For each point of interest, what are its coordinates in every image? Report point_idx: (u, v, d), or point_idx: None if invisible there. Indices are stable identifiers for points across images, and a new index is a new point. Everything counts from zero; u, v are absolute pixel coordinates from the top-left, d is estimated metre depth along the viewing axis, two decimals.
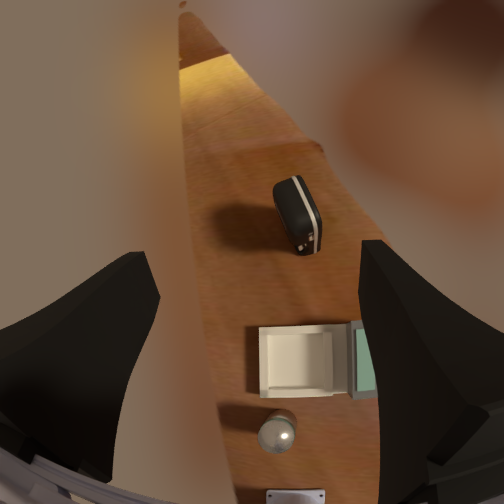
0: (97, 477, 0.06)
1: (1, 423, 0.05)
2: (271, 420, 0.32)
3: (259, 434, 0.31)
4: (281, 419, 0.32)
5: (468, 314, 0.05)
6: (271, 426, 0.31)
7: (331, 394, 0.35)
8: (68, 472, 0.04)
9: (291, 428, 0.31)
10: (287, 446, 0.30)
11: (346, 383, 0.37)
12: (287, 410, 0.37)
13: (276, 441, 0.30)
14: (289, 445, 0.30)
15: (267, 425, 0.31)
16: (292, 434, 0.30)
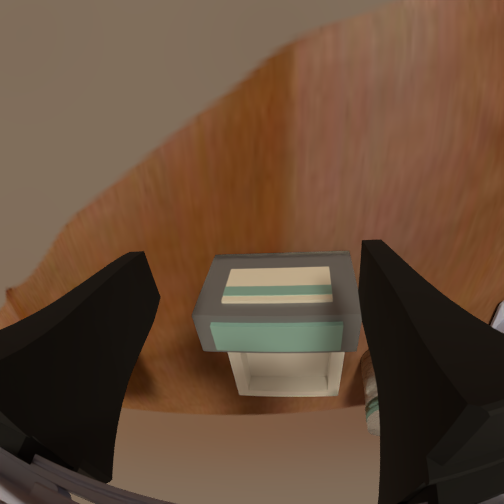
0: (97, 477, 0.06)
1: (1, 423, 0.05)
2: (366, 421, 0.21)
3: None
4: (368, 411, 0.21)
5: (468, 313, 0.05)
6: (374, 429, 0.20)
7: None
8: (68, 472, 0.04)
9: None
10: None
11: None
12: (363, 356, 0.25)
13: None
14: None
15: (371, 431, 0.21)
16: None
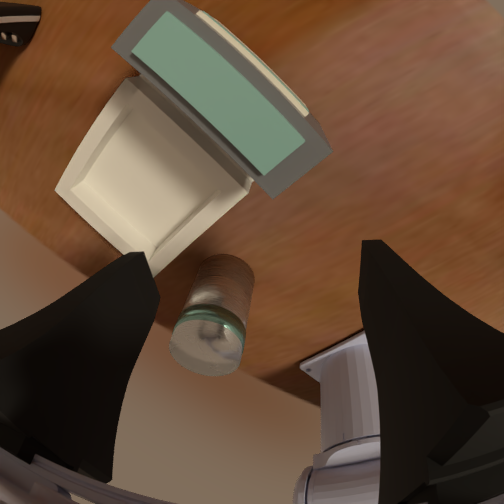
0: (97, 477, 0.06)
1: (1, 423, 0.05)
2: (174, 328, 0.17)
3: (179, 362, 0.17)
4: (187, 315, 0.17)
5: (468, 314, 0.05)
6: (179, 344, 0.16)
7: (243, 192, 0.16)
8: (68, 472, 0.04)
9: (211, 326, 0.16)
10: (234, 358, 0.16)
11: None
12: (213, 257, 0.21)
13: (211, 359, 0.17)
14: (235, 354, 0.16)
15: (172, 345, 0.17)
16: (220, 338, 0.16)
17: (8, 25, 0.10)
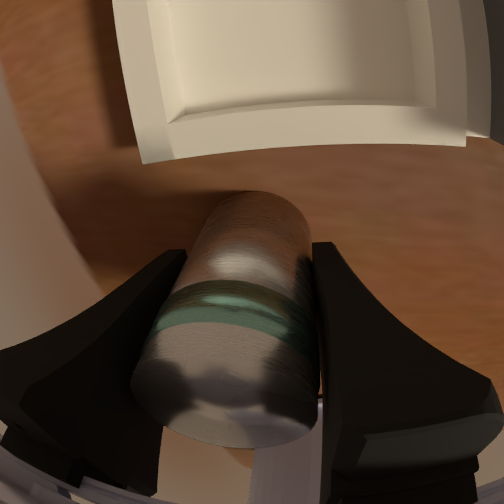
0: (142, 491, 0.06)
1: (40, 443, 0.04)
2: (179, 323, 0.06)
3: (138, 395, 0.06)
4: (238, 309, 0.06)
5: None
6: (180, 375, 0.05)
7: (461, 140, 0.07)
8: None
9: (303, 370, 0.06)
10: (284, 437, 0.06)
11: (488, 103, 0.07)
12: (271, 196, 0.10)
13: (229, 423, 0.06)
14: (295, 435, 0.06)
15: (157, 368, 0.05)
16: (310, 405, 0.05)
17: None
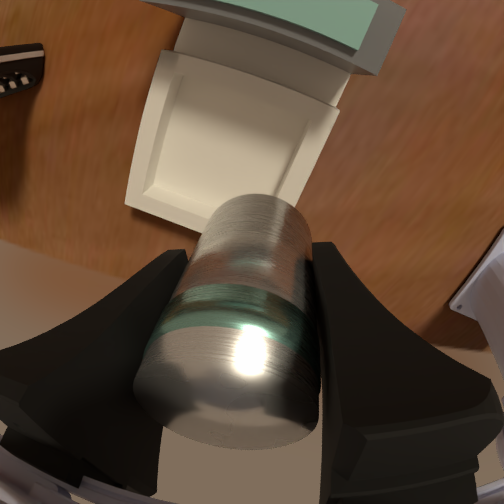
0: (142, 491, 0.06)
1: (40, 443, 0.04)
2: (177, 328, 0.06)
3: (141, 400, 0.06)
4: (235, 312, 0.06)
5: None
6: (179, 379, 0.05)
7: (335, 112, 0.13)
8: None
9: (301, 371, 0.06)
10: (287, 438, 0.06)
11: (327, 65, 0.13)
12: (270, 198, 0.11)
13: (231, 425, 0.06)
14: (298, 435, 0.06)
15: (157, 373, 0.05)
16: (310, 405, 0.06)
17: (14, 63, 0.12)
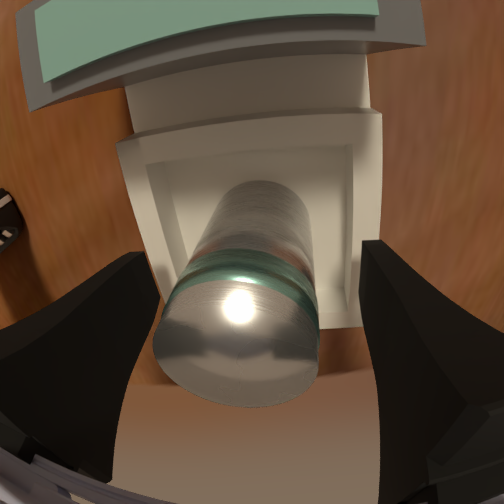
0: (97, 477, 0.06)
1: (1, 423, 0.05)
2: (195, 283, 0.07)
3: (159, 355, 0.07)
4: (245, 269, 0.07)
5: (468, 313, 0.05)
6: (196, 326, 0.07)
7: (377, 118, 0.09)
8: (68, 472, 0.04)
9: (302, 319, 0.07)
10: (291, 391, 0.08)
11: (332, 57, 0.09)
12: (272, 184, 0.12)
13: (240, 377, 0.07)
14: (300, 387, 0.07)
15: (177, 322, 0.07)
16: (310, 351, 0.07)
17: None
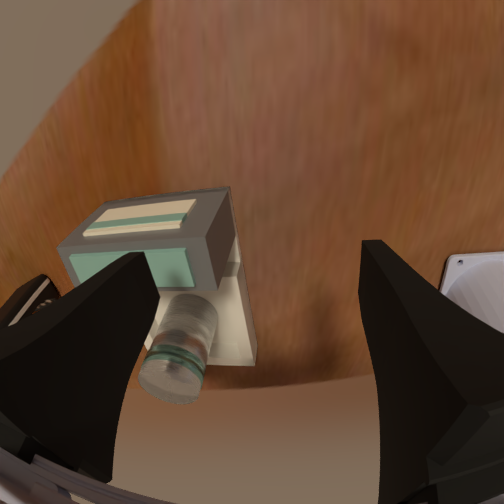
0: (97, 477, 0.06)
1: (1, 423, 0.05)
2: (151, 359, 0.18)
3: (141, 382, 0.18)
4: (168, 355, 0.18)
5: (468, 313, 0.05)
6: (152, 375, 0.18)
7: (234, 278, 0.20)
8: (68, 472, 0.04)
9: (188, 374, 0.18)
10: (191, 398, 0.19)
11: None
12: (194, 297, 0.23)
13: (171, 392, 0.18)
14: (194, 397, 0.18)
15: (145, 373, 0.18)
16: (192, 386, 0.18)
17: (35, 302, 0.23)
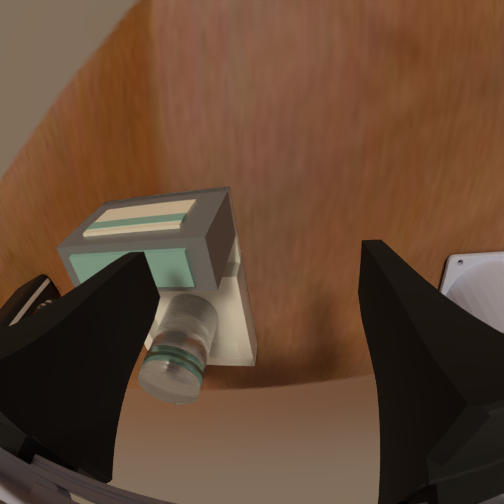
0: (97, 477, 0.06)
1: (1, 423, 0.05)
2: (151, 360, 0.18)
3: (140, 382, 0.18)
4: (168, 356, 0.18)
5: (468, 314, 0.05)
6: (152, 375, 0.18)
7: (234, 278, 0.20)
8: (68, 472, 0.04)
9: (188, 375, 0.18)
10: (190, 399, 0.19)
11: None
12: (194, 298, 0.23)
13: (170, 392, 0.18)
14: (193, 398, 0.18)
15: (145, 374, 0.18)
16: (191, 387, 0.18)
17: (35, 302, 0.23)
